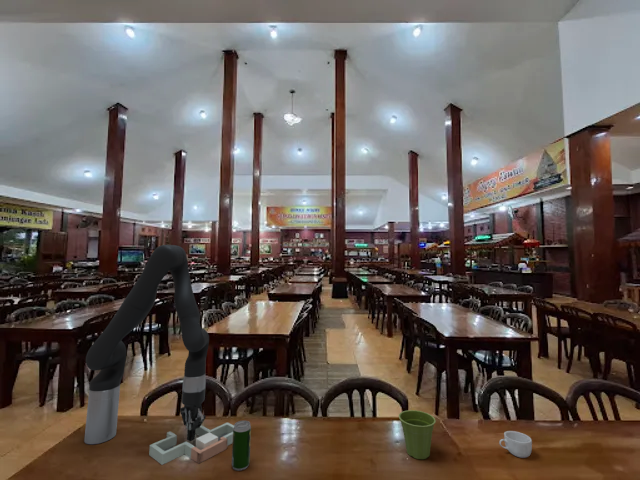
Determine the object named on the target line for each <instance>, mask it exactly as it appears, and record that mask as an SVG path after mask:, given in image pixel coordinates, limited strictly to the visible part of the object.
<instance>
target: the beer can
mask: <svg viewBox="0 0 640 480" xmlns="http://www.w3.org/2000/svg"><path fill="white" fill-rule="evenodd" d="M233 425H234V428H233V443H232V445H231V446H232V447H231V448H232V449H231V467H232V469H233V471H238V472H239V471H241V472H242V471H244V470H246V469H248V467H249V465H250V462H251V434H252V426H251V422H250V421H249V420H239V421H236V422H235V423H234V424H233Z"/></svg>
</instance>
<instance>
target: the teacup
mask: <svg viewBox="0 0 640 480" xmlns="http://www.w3.org/2000/svg"><path fill="white" fill-rule="evenodd" d="M503 436H504V437H503V438H502V439H499V441H498V442H499V446H500V447H502V448H503V449H505V450H508V452H509V453H510V454H512V455H513V456H515V457H516V458H522V459H525V458H528V457H529V456H530V455H531V453H532V449H533V448H532V445H533V441H532V440H533V439H532V438H531V437H530V436H529V435H527V434H525V433H522V432H519V431H515V430H507V431H504V433H503ZM502 442H504V445H505V446H504V445H502Z"/></svg>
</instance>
